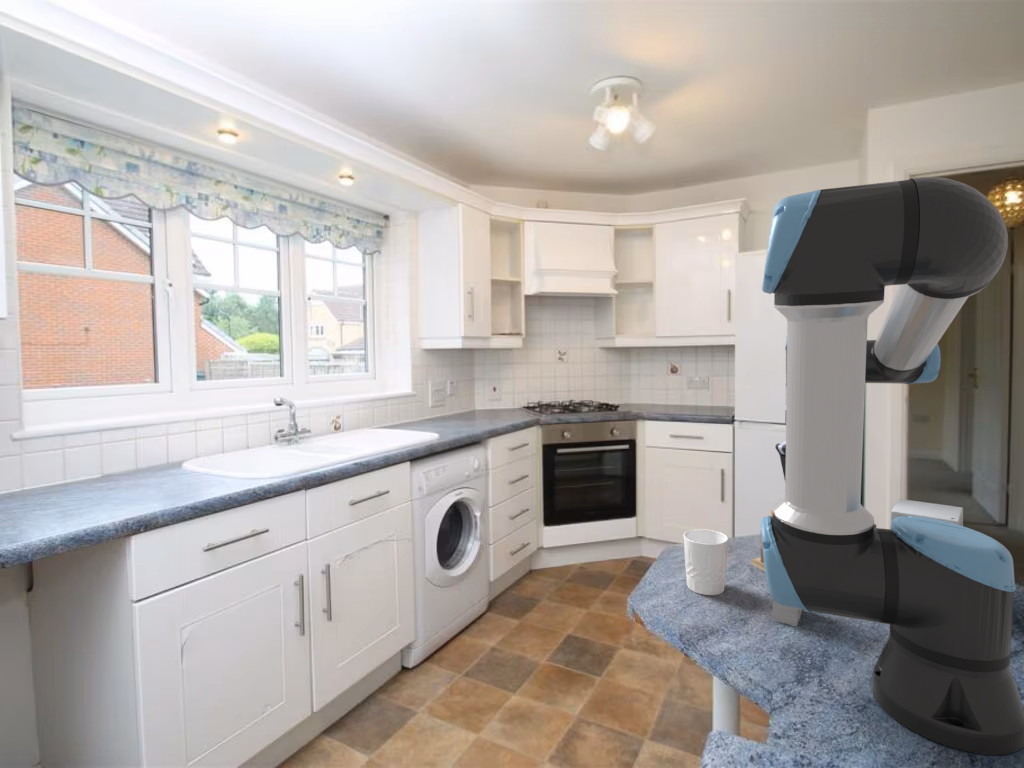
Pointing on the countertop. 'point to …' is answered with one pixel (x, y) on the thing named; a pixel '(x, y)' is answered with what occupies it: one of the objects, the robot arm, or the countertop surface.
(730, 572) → the countertop surface
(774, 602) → the grey upright block
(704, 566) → the white cup
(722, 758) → the countertop surface
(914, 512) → the supplement box
